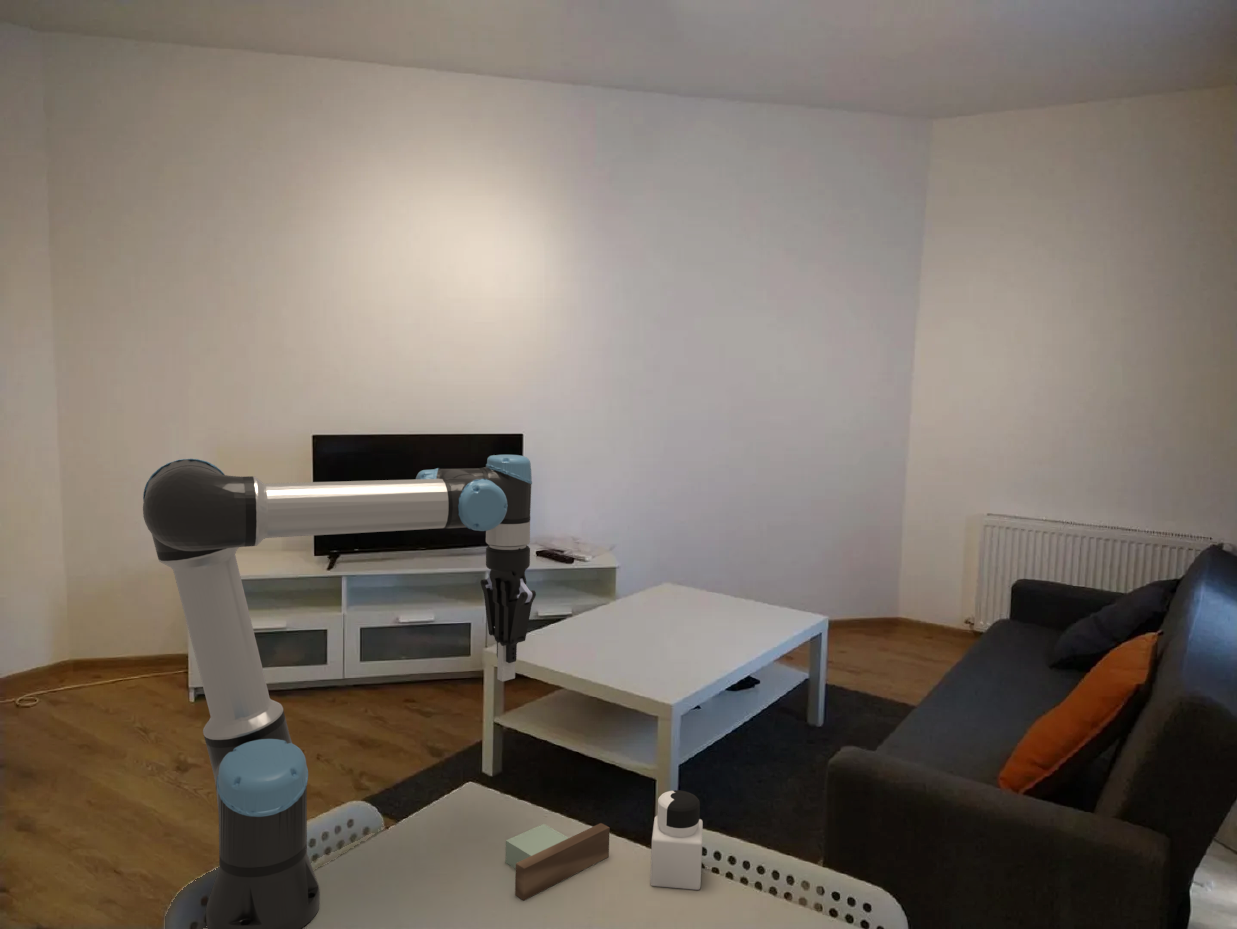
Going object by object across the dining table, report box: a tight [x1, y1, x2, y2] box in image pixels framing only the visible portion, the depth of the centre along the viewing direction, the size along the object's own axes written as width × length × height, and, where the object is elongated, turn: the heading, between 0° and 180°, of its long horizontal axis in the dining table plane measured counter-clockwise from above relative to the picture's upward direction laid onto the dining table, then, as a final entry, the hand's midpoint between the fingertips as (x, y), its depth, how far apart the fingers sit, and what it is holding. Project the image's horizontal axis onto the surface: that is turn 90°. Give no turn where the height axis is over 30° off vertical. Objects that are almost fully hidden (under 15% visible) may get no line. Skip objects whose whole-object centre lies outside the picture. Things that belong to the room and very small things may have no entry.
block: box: [504, 823, 569, 870], centre depth 144 cm, size 8×8×4 cm
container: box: [649, 789, 704, 891], centre depth 142 cm, size 8×8×13 cm
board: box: [514, 822, 611, 901], centre depth 141 cm, size 2×18×5 cm, turn 136°
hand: (506, 678), depth 157 cm, fingers closed
